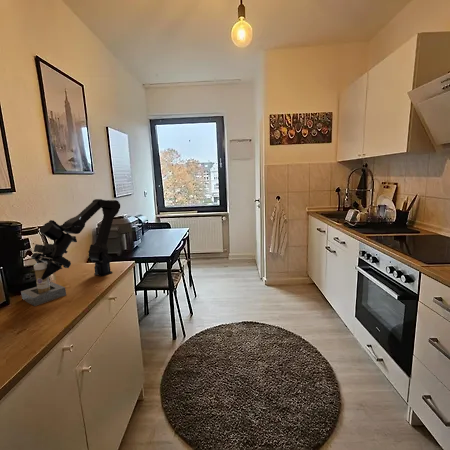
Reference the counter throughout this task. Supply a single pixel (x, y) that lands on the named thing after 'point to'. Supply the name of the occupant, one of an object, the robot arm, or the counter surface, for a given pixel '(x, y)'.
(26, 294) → the block
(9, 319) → the counter surface
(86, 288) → the counter surface
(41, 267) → the sprinkles bottle
